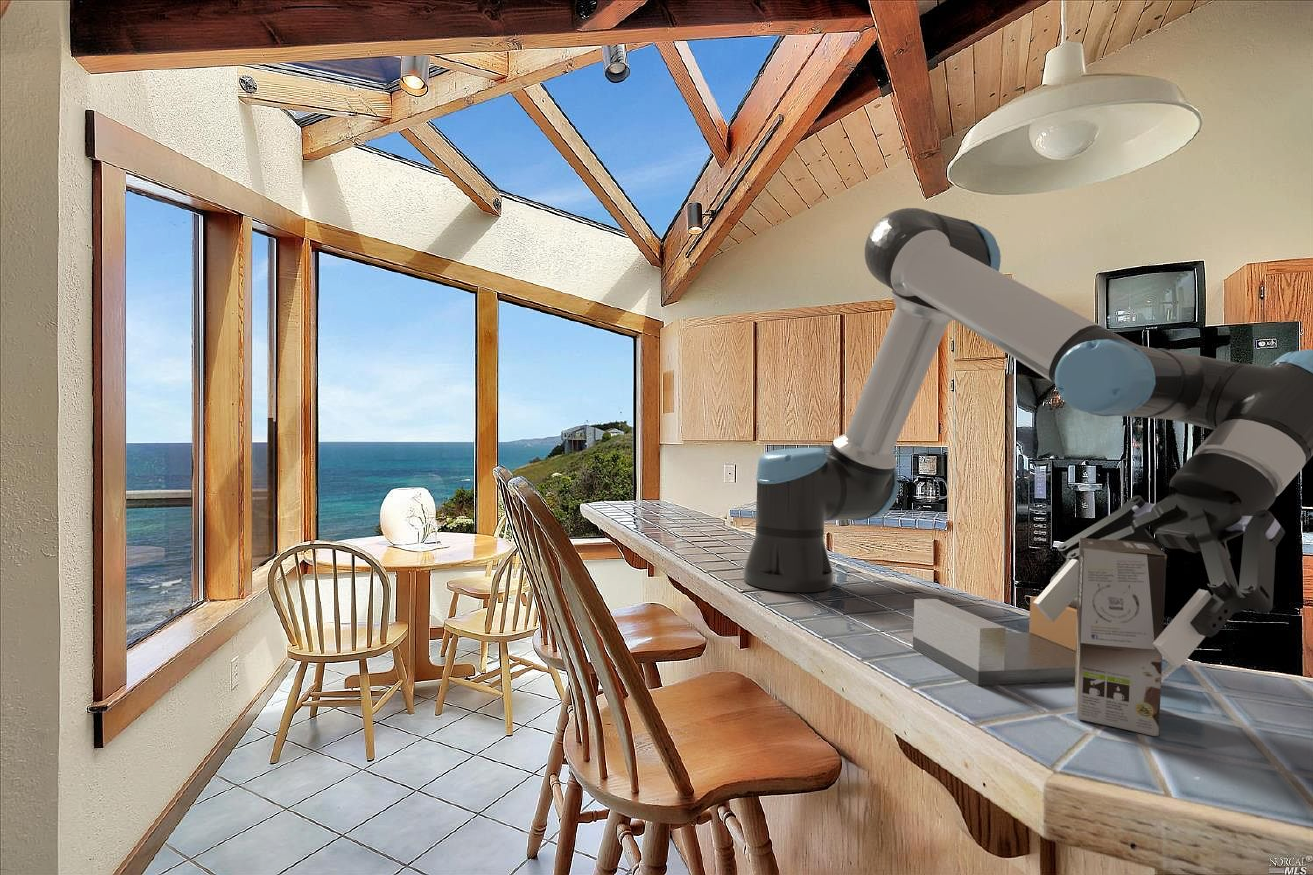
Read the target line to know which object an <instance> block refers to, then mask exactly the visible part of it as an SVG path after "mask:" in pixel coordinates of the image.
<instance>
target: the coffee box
mask: <svg viewBox="0 0 1313 875" xmlns="http://www.w3.org/2000/svg"><path fill="white" fill-rule="evenodd" d="M1167 559H1168V555H1167V554H1166V553H1165V552H1163V550H1161V548H1160V549H1159V548H1157V547H1156V546H1155V545H1154V544H1152V543H1145V542H1135V541H1123V540H1107V539H1103V540H1098V539H1088V538H1080V539H1079V564H1078V593H1077V625H1076V661H1075V681H1074V696H1075V707H1076V708H1075V709H1076V718H1077V719H1078V720H1080V721H1084V722H1090V723H1094V724H1099V725H1103V726H1108V727H1114V728H1117V729H1122V730H1127V731H1129V732H1130V731H1131V732H1134V733H1139V734H1143V735H1148V736H1150V737H1159V735H1160V734H1159V732H1160V717H1161V716H1160V715H1161V698H1162V697H1161V695H1162V694H1161V693H1162V690H1161V689H1162V674H1163V673H1162V671H1163V670H1162V669H1163V667H1162V666H1163V655H1162V654H1161V653H1160V652H1159V651H1158V649H1157V648H1156V647H1155V646H1154V645H1153V642H1154V641H1155V640H1156V639H1157V638H1158V637H1159V635H1160V634H1161V633H1162V632H1163V631H1164V624H1165V622H1164V621H1165V619H1164V618H1165V598H1166V581H1167V580H1166V577H1167Z"/></svg>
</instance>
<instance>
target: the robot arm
mask: <svg viewBox="0 0 1313 875" xmlns="http://www.w3.org/2000/svg"><path fill="white" fill-rule="evenodd" d="M1001 258H1002V256H1001V250H1000V247H999V245H998V242H997V240H996V238H995V236H994V235H993V233H991V231H989V230H988V229H987V228H985V227H983V226H981V225H979V224H976V223H975V222H971V221H970V220H968V219H967V220H965V219H961V218H956V217H953V216H948V215H945V214H940V213H936V212H932V211H929V210H928V209H927V210H926V209H923V208H917V207H915V208H914V207H905V208H900V209H897V210H894V211H892V212H889V213H887V214H886V215H884V216H883V217H882V218H880V220H878V221H877V222H876V223H875V225H874V226H872V228H871V230H870V232H869V233H868V235H867V238H866V240H865V246H864V260H865V264H866V267H867V269H868V271H869V272H870V274H871V275H872V276H873V277H874V278H875V279H876V280H877V281H878V282H880V283H881V284H883V285H885V287H886V286H887V287H888V288H889V289H891V294H890V295H891V297H892V299H893V302H894V304H895V308H894V311H893V313H892V316H891V318H890V321H889V324H888V326H887V328H886V331H885V334H884V336H883V339H882V341H881V344H880V346H879V348H878V351H877V354H876V356H875V358H874V362H873V364H872V365H871V368H870V370H869V371H870V372H869V374H868V376H867V378H866V381H865V384H864V386H863V389H862V391H861V393H860V396H859V399H858V401H857V404H856V406H855V408H854V410H853V414H852V416H851V419H850V421H849V424H848V427H847V429H846V430H845V431H846V432H845V433H843V434H841V435H839V436H836V437H835V438H833V441H832V442H831V446H830V448H829V452H828V453H827V452H826V450H825V449H824V448H821V447H796V448H793V447H792V448H782V449H776V450H771V451H766V452H764V453H763V454H761V456H760V457H759V459H758V464H757V465H758V466H757V473H756V476H755V480H756V483H757V484H756V504H755V505H756V508H755V509H756V513H755V536H754V540H753V542H752V546H751V548H750V551H749V554H748V556H747V558H746V563H745V564H744V570H743V571H744V572H743V574H744V575H743V581H744V582H745V583H746V584H749V585H751V586H753V587H757V588H760V589H765V590H770V591H775V592H776V591H777V592H786V593H787V592H788V593H818V592H824V591H829V590H831V589H832V588H833V587H834V586H833V585H834V572H833V569H832V565H831V563H830V558H829V555H828V553H827V552H828V551H827V549H826V545H825V540H824V539H825V538H824V537H825V522H827V521H845V520H852V521H863V520H864V521H865V520H868V519H873V518H877V517H880V516H883V515H884V514H885V513H887V512H888V511H889V510H890V509H891V508H892V506H893V505H894V504H895V502H896V500H897V498H898V494H899V491H900V482H898V479H899V474H898V470H897V469H896V467H897V465H898V461H897V458H896V456H895V455H894V448H895V447H896V444H897V442H898V439H899V438H900V435H901V432H902V431H903V428H904V425H905V424H906V421H907V419H908V417H909V415H910V412H911V410H912V407H913V405H914V402H915V401H916V398H917V396H918V394H919V391H920V389H921V386H922V385H923V382H924V380H925V378H926V376H927V373H928V370H929V369H930V367H931V364H932V361H933V359H934V357H935V355H936V353H937V350H938V348H939V345H940V343H941V342H942V340H943V337H944V334H945V332H946V329H947V328H948V325H949V324H950V323H951V322H953V321H956V322H957V323H958V324H960V325H961V326H964V327H965V328H966V329H968V330H970V331H971V332H972V333H974V334H976V335H977V336H979V337H981V338H982V339H984V340H985V341H987V342H989V343H990V344H992V345H993V346H995V347H996V348H998V349H999V350H1001V351H1002V352H1003V353H1006V354H1007V355H1009V356H1010V357H1012V358H1013V359H1015V360H1017V361H1018V362H1019V363H1021V364H1022V365H1024V366H1026V367H1027V368H1029V369H1030V370H1033V371H1034V372H1035V373H1037V374H1038V375H1039V376H1042V377H1043V378H1045V379H1046V380H1048V381H1050V382H1051V383H1052V384H1055V387H1056V390H1057V393H1058V394H1059V396H1060V399H1062V401H1064V403H1065V404H1067V405H1068V406H1069V407H1071V408H1072V409H1075V410H1077V411H1080V412H1085V413H1088V414H1091V415H1094V416H1099V417H1117V416H1118V417H1136V418H1137V417H1138V418H1146V419H1147V418H1148V419H1159V420H1171V421H1175V422H1179V423H1184V424H1188V425H1193V426H1197V427H1201V428H1205V429H1210V430H1212V432H1211V433H1210V434H1209V435H1208V436H1207V437H1206V438H1205V440H1204V441H1203V442H1202V443H1201V444H1200V445H1198V447H1196V449H1195V451H1194V453H1193V455H1192V456H1191V457H1189V458H1188V459H1187V460H1186V462H1184V464H1183V465H1182V466H1181V467H1180V468H1179V469H1178V471H1177V472H1176V473H1175V474H1174V475H1173V476H1172V477H1171V479H1170V480H1169V481H1170V482H1169V485H1168V486H1169V487H1168V492H1167V496H1166V497H1165V498H1164V499H1162V500H1160V501H1158V502H1156V503H1151V502H1150V503H1149V502H1146V501H1145V500H1144V499H1143V497H1142V496H1141V495H1134V496H1132V497H1130V499H1128V500H1127V501H1126V502H1125V503H1124V504H1123V505H1122V506H1121V507H1119V509H1117V510H1115V511H1114V512H1112V513H1111V514H1109V515H1107V516H1105V517H1104V518H1102V519H1100V520H1098V521H1097V522H1096V523H1094V524H1092V525H1091V526H1089V527H1087V528H1086V529H1084V530H1083V531H1081V532H1079V533H1077V534H1076V535H1074V536H1072V537H1071V538H1069V539H1068V540H1065V541H1064V542H1063V543H1060V545H1058V547H1057V550H1058V552H1059V553H1060V554H1061V555H1062V556H1063V558H1064V559H1065V562H1064V563H1063V565H1062V566H1060V568H1059V569H1058V570H1057V571H1056V572H1055V574H1053V576H1051V578H1050V580H1049V584H1048V585H1047V586H1046V587H1045V589H1043V591H1041V593H1040V594H1039V595H1038V596H1036V597H1037V599H1036V600H1035V601H1034V602H1033V603H1034V604H1035V605H1036V607H1037V608H1038V609H1039V610H1040V611H1041V612H1042V614H1043V615H1044V616H1045V617H1046V618H1047V619H1048V620H1049V621H1052V622H1054V621H1055V620H1056V619H1057V618H1058V617H1059V615H1060V614H1061V613H1062V612H1063V611H1064V610H1065V609H1066V608H1067V606H1068V605H1069V604H1070V603H1071V602H1072V601H1073V600H1074V598H1075V597H1076V596H1077V593H1078V564H1079V539H1080V538H1088V539H1098V540H1103V539H1107V540H1123V541H1135V542H1145V543H1152V544H1154V545H1155V546H1156V547H1157V548H1159V549H1160V550H1161V549H1163V548H1167V549H1174V550H1175V549H1181V550H1185V551H1187V552H1189V553H1195V554H1197V553H1198V552H1201V554H1202V555H1201V556H1202V558H1203V562H1204V566H1205V569H1206V573H1207V577H1208V581H1209V583H1207V586H1208V587H1209V589H1210V590H1211V591H1212V592H1213V594H1212V595H1211V593H1210V592H1209V590H1207V589H1206V590H1205V589H1201V588H1198V590H1197V591H1196V592H1194V594H1193V596H1191V598H1190V599H1189V600H1188V601H1187V603H1185V605H1184V606H1183V607H1182V608H1181V609H1180V611H1179V612H1178V613H1177V614H1176V616H1174V618H1172V620H1171V621H1170V623H1168V625H1167V626H1166V627H1165V628H1164V629H1163V632H1162V633H1161V634H1160V635H1159V637H1158V638H1157V639H1156V640H1155V641H1154V642H1153V645H1154V646H1155V647H1156V648H1157V649H1158V651H1159V652H1160V653H1161V654H1162V658H1164V659H1165V660H1166V662H1167V663H1168V664H1169V665H1170V666H1172V667H1175V668H1177V669H1180V668H1181V666H1182V665H1183V664H1184V663H1185V661H1187V660H1188V658H1189V657H1190V656H1191V654H1192V653H1193V652H1194V651H1195V650H1196V649H1197V648H1198V646H1199V645H1200V644H1201V643H1202V641H1203V640H1204V639H1205V638H1206V637H1207V638H1212V637H1214V636H1216V635H1217V634H1218V633H1219V632H1220V630H1221V629H1222V628H1223V627H1224V626H1225V625H1226V623H1227V622H1228V621H1229V620H1230V619H1231V617H1233V615H1234V614H1238V613H1241V612H1243V611H1244V610H1254V611H1255V612H1256V613H1257V614H1267V613H1270V612H1271V611H1272V610H1273V606H1274V591H1275V588H1274V586H1275V569H1276V568H1275V566H1276V552H1277V549H1276V548H1277V546H1278V545H1279V543H1280V542H1281V540H1282V538H1284V536H1285V534H1286V531H1285V530H1284V528H1283V527H1282V526H1281V524H1280V522H1278V520H1277V519H1276V518H1275V516H1274V515H1273V514H1272V512H1271V511H1270V510H1269V509H1270V507H1271V506H1272V505H1273V504H1274V502H1275V501H1276V499H1277V497H1278V496H1279V495H1280V494H1281V493H1283V491H1284V490H1285V489H1286V487H1287V486H1288V485H1289V484H1290V483H1291V482H1292V480H1293V479H1294V478H1296V476H1297V475H1298V474H1299V472H1300V471H1301V470H1302V469H1303V468H1304V466H1305V465H1306V464H1307V463H1308V462H1309V460H1310V459H1311V458H1312V457H1313V349H1309V348H1308V349H1307V348H1306V349H1302V350H1297V351H1289V352H1286V353H1284V354H1283V355H1281V356H1279V357H1278V358H1277V359H1276V360H1274V361H1273V362H1272V363H1269V365H1267V366H1264V365H1259V364H1252V363H1251V364H1250V363H1244V362H1243V363H1242V362H1239V363H1238V362H1233V361H1227V360H1224V359H1218V358H1213V357H1208V356H1203V355H1197V354H1192V353H1186V352H1180V351H1177V350H1173V349H1167V348H1161V347H1160V348H1155V347H1149V346H1143V345H1140V344H1137V343H1134V342H1133V341H1130V340H1129V339H1127V338H1125V337H1123V336H1121V335H1119V334H1117V333H1115V332H1113V331H1111V330H1109V329H1107V328H1105V327H1103V325H1100V324H1098V323H1096V322H1094V321H1093V320H1091V319H1089V318H1087V317H1086V316H1083V315H1081V314H1079V313H1078V312H1075V310H1072V309H1070V308H1068V307H1066V306H1065V305H1063V304H1060V303H1058V302H1057V301H1055V300H1053V299H1051V298H1049V297H1047V296H1046V295H1044V294H1042V293H1040V292H1038V291H1036V290H1034V289H1033V288H1030V287H1028V286H1026V285H1025V284H1024V283H1021V282H1019V281H1018V280H1015V279H1014V278H1011V277H1009V276H1008V275H1006V274H1005V273H1003V272H1000V268H1001V263H1002V262H1001ZM1148 527H1151V531H1152V533H1153V535H1154V536H1155V537H1153V536H1152V535H1151V533H1150V532H1149V531H1148V530H1147V528H1148ZM1240 535H1243V538H1242V549H1241V560H1240V561H1241V562H1240V571H1239V580H1238V581H1239V584H1238V582H1237V579H1236V575H1235V573H1234V572H1235V571H1234V569H1233V566H1232V562H1231V560H1230V559H1231V554H1230V550H1229V547H1228V545H1227V541H1229V540H1231V539H1234V538H1236V537H1238V536H1240Z"/></svg>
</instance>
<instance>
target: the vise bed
mask: <svg viewBox="0 0 1313 875" xmlns="http://www.w3.org/2000/svg"><path fill="white" fill-rule="evenodd" d="M912 633H913V635H912V649H913V650H915V651H917V652H918V653H920V654H922V653H923V654H922V655H923V656H925V655H926V657H927V658H929V659H931V660H933V661H934V662H936V663H938V664H940V665H941V666H943V667H944V668H946V669H948V670H949V671H952V672H954V673H955V674H956V675H958V676H960V675H961V676H960V677H962V678H963V679H966V680H967V681H969V682H971V683H973V684H974V683H975V685H976V686H979V687H980V686H982V687H983V686H997V685H998V686H1002V685H1003V684H1004V685H1022V684H1023V683H1024V684H1025V683H1026V684H1041V683H1040V682H1047V683H1065V682H1075V661H1076V651H1074V650H1072V649H1070V648H1067V647H1065V646H1062V645H1060V644H1057V643H1055V642H1052V641H1050V640H1047V639H1045V638H1042V637H1040V636H1038V635H1035V634H1033V633H1030V632H1008V633H1007V632H1006V627H1005V626H1002V625H1000V624H998V623H995V622H993V621H990V620H987V619H986V618H983V617H981V616H979V615H977V614H974V613H972V612H969V611H966V610H965V609H961V608H959V607H957V606H955V605H952V604H949V603H947V602H945V601H942V600H940V599H937V598H919V599H918V598H917V599H916V598H915V599H914V602H913V631H912ZM1001 684H1002V685H1001ZM1024 684H1023V685H1024Z"/></svg>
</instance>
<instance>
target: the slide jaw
mask: <svg viewBox="0 0 1313 875" xmlns="http://www.w3.org/2000/svg"><path fill="white" fill-rule="evenodd" d="M1037 597H1038V596H1030V600H1029V601H1030V602H1029V623H1028V624H1029V630H1028V631H1029V632H1028V633H1033V634H1035V635H1038V636H1040V637H1042V638H1045V639H1047V640H1050V641H1052V642H1055V643H1057V644H1060V645H1062V646H1065V647H1067V648H1070V649H1072V650H1074V651H1076V625H1077V596H1076V597H1075V598H1074V600H1073V601H1072V602H1071V603H1070V604H1069V605H1068V606H1067V608H1066V609H1065V610H1064V611H1063V612H1062V613H1061V614H1060V615H1059V617H1058V618H1057V619H1056V620H1055V621H1054V622H1052V621H1049V620H1048V619H1047V618H1046V617H1045V616H1044V615H1043V614H1042V612H1041V611H1040V610H1039V609H1038V608H1037V607H1036V605H1035V604H1034V603H1033V602H1034V601H1035V600H1036V599H1037Z"/></svg>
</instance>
